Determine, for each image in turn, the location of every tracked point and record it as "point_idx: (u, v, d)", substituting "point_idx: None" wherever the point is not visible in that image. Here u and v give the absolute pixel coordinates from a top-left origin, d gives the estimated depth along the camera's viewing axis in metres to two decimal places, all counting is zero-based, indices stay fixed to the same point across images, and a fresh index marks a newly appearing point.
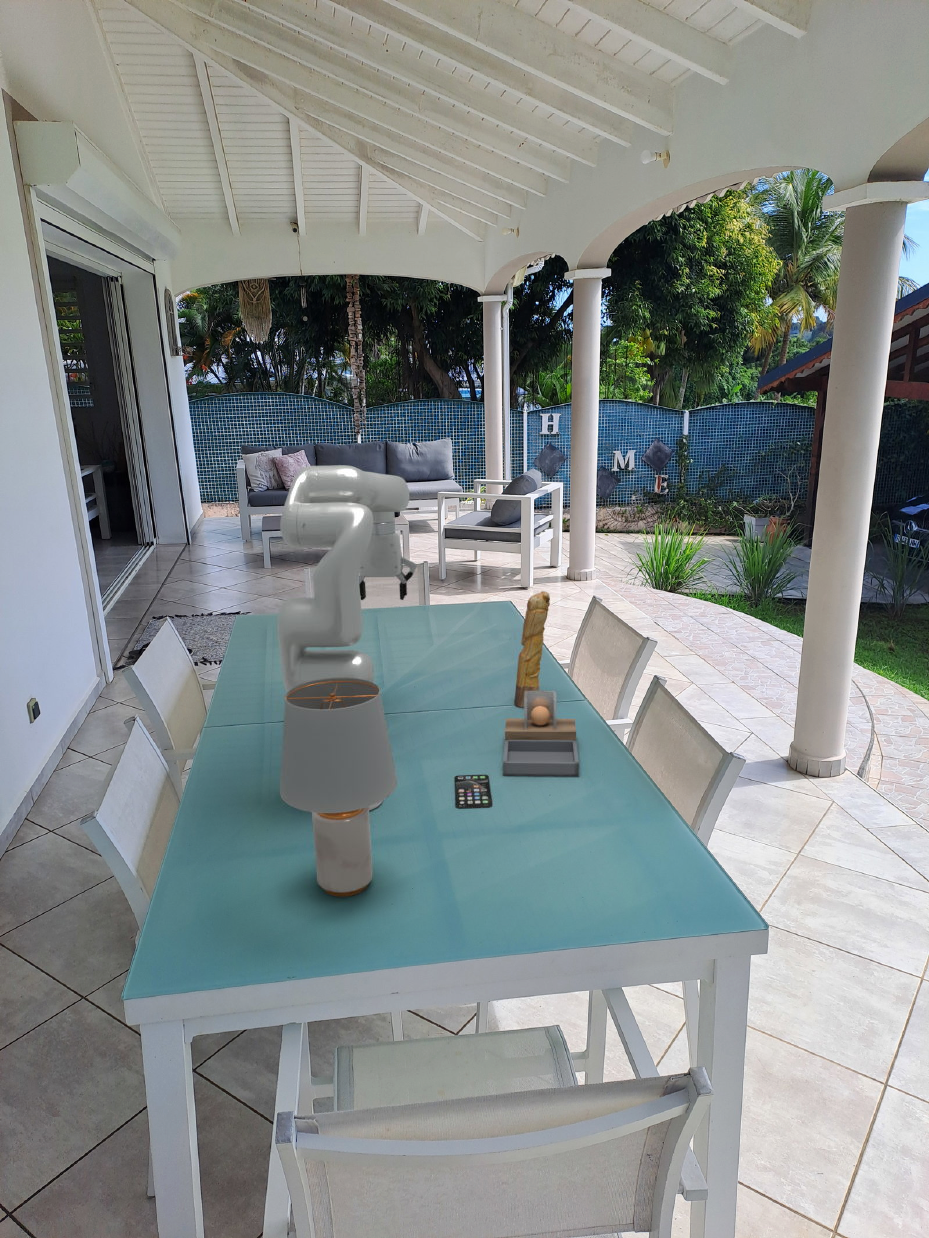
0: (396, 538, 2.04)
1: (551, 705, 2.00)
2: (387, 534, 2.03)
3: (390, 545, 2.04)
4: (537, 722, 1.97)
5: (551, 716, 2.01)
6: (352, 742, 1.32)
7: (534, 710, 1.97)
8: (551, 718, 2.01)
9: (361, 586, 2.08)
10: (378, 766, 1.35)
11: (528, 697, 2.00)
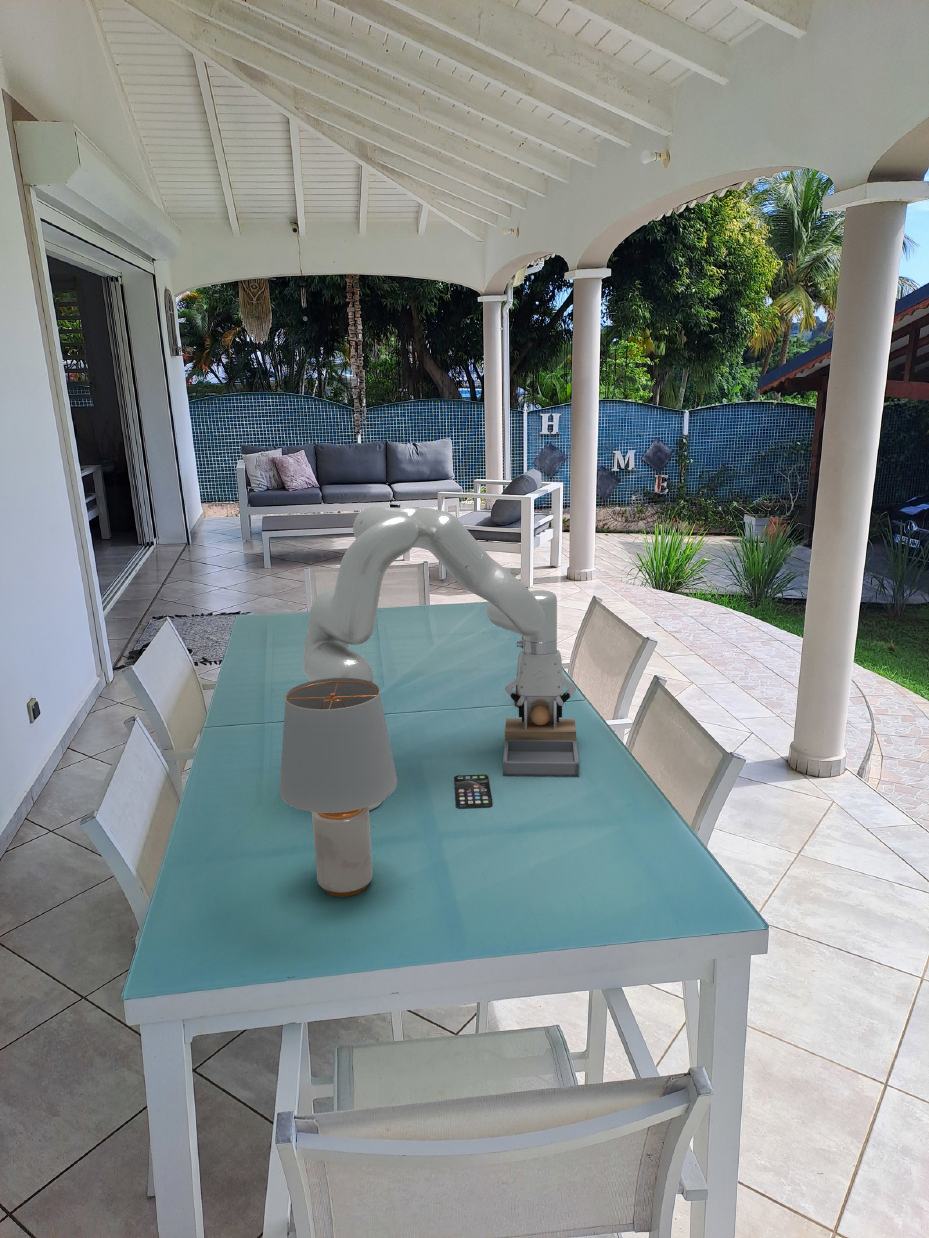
0: (559, 657, 1.92)
1: (551, 705, 2.00)
2: (550, 653, 1.91)
3: (553, 664, 1.92)
4: (537, 722, 1.97)
5: (551, 716, 2.01)
6: (352, 742, 1.32)
7: (534, 710, 1.97)
8: (551, 718, 2.01)
9: (523, 708, 1.96)
10: (378, 766, 1.35)
11: (528, 697, 2.00)
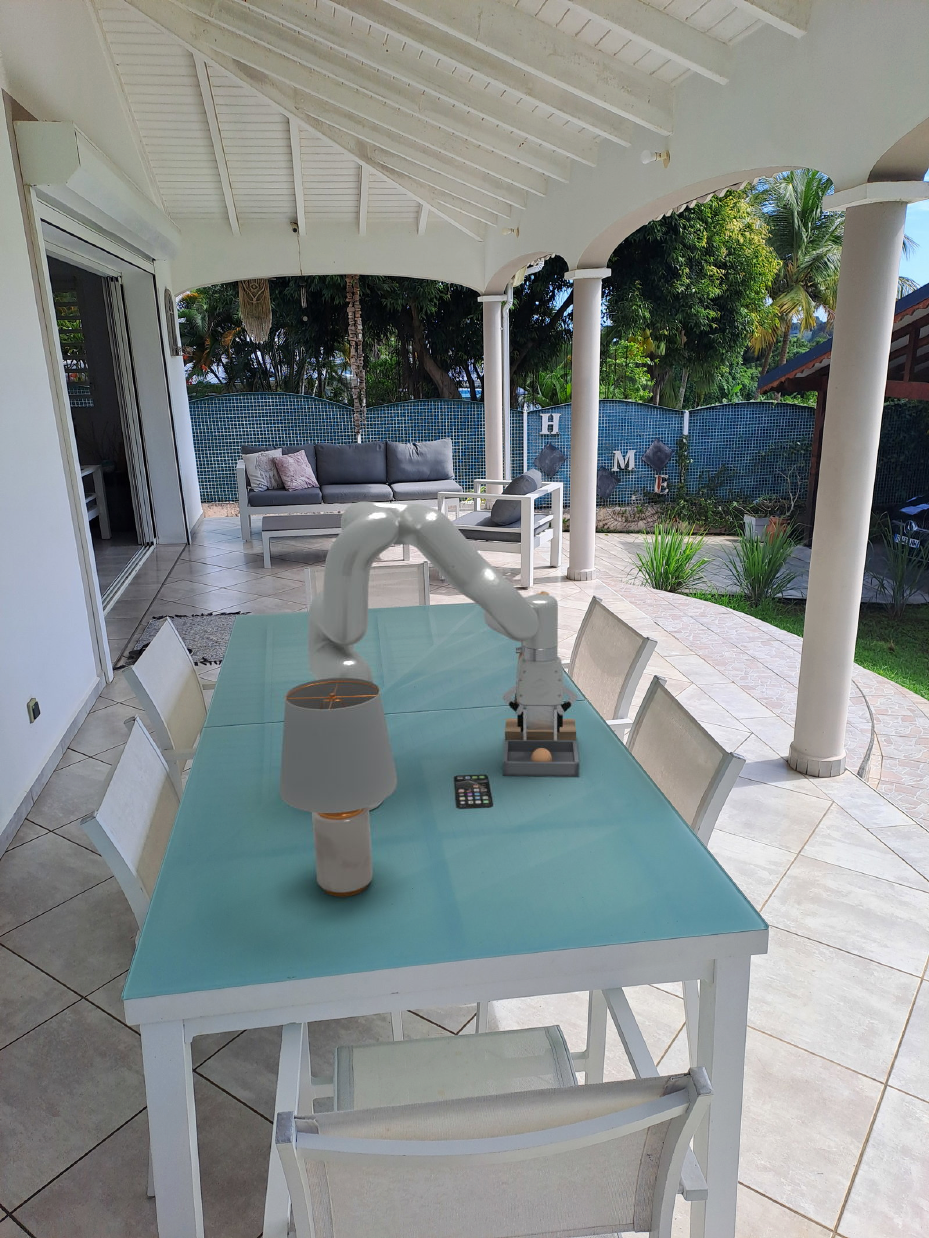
0: (560, 664, 1.84)
1: (551, 714, 1.92)
2: (551, 660, 1.83)
3: (554, 672, 1.84)
4: None
5: (551, 725, 1.93)
6: (352, 742, 1.32)
7: (535, 757, 1.85)
8: (551, 728, 1.93)
9: (522, 717, 1.88)
10: (378, 766, 1.35)
11: (527, 706, 1.92)
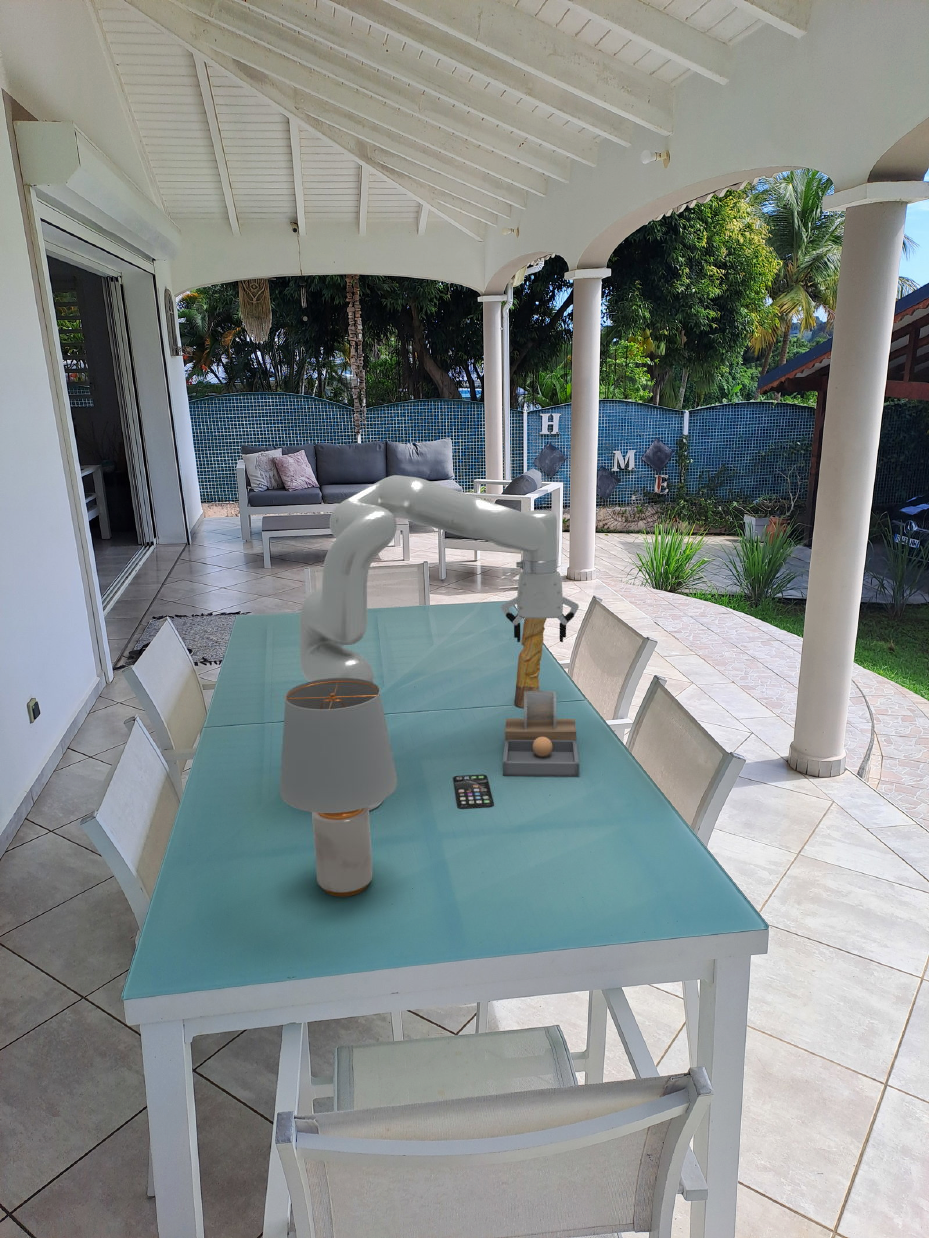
0: (559, 577, 1.91)
1: (551, 705, 2.00)
2: (550, 573, 1.89)
3: (553, 584, 1.90)
4: (539, 737, 1.92)
5: (551, 716, 2.01)
6: (352, 742, 1.32)
7: None
8: (551, 718, 2.01)
9: (518, 627, 1.95)
10: (378, 766, 1.35)
11: (528, 697, 2.00)
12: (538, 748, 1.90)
